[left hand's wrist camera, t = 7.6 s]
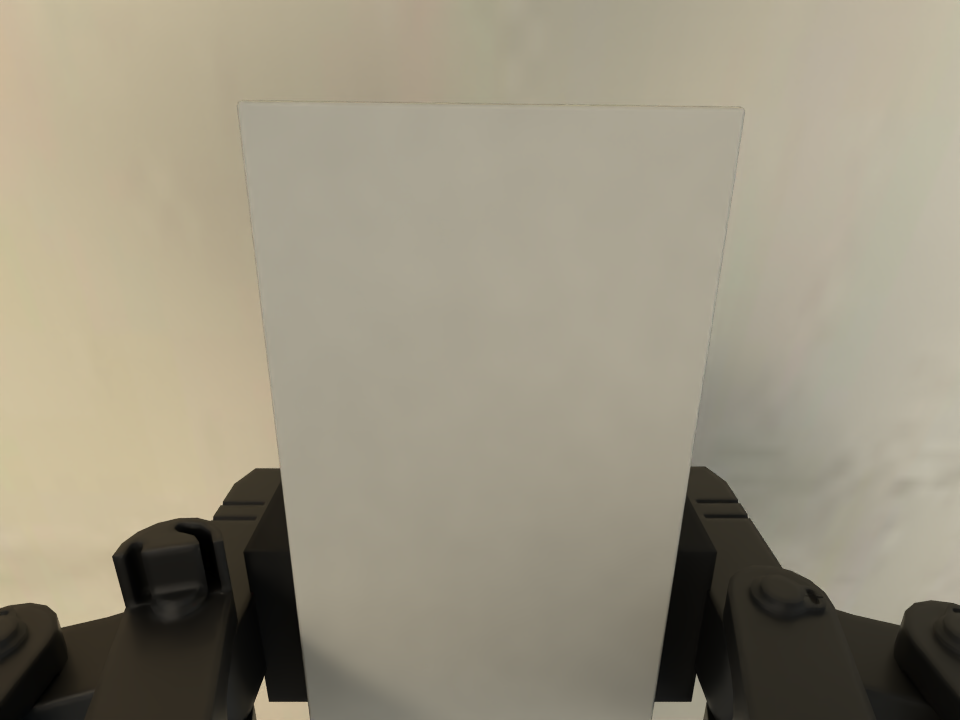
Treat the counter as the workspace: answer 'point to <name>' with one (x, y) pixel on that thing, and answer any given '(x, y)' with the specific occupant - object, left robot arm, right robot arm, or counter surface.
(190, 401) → the counter surface
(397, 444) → the beam
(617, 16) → the counter surface
